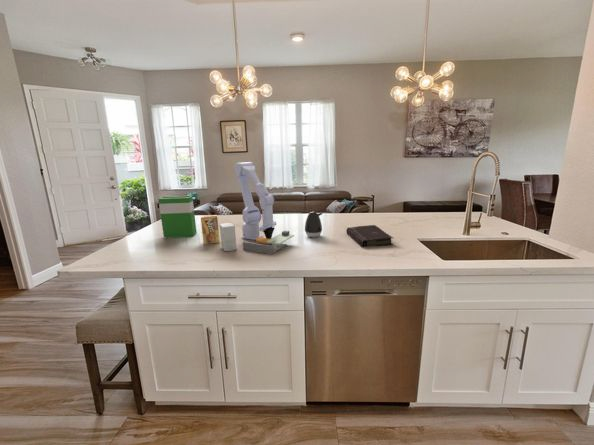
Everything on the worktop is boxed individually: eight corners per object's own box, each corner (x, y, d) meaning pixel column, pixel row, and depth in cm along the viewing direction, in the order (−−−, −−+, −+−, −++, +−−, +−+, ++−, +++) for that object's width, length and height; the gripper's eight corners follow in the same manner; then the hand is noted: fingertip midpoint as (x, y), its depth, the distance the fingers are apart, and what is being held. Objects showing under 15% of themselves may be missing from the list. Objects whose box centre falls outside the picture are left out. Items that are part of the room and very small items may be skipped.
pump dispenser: (321, 239, 167) (321, 213, 163) (303, 238, 169) (303, 212, 165) (323, 234, 176) (323, 209, 173) (306, 233, 179) (306, 209, 175)
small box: (236, 249, 153) (234, 225, 150) (224, 251, 151) (222, 227, 147) (233, 245, 160) (231, 222, 157) (221, 247, 158) (219, 223, 154)
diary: (361, 249, 152) (361, 239, 151) (346, 235, 176) (346, 227, 175) (394, 245, 154) (395, 236, 153) (375, 232, 178) (375, 224, 177)
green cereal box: (163, 237, 177) (158, 198, 171) (168, 234, 184) (163, 196, 178) (193, 236, 178) (188, 197, 172) (196, 233, 185) (192, 195, 179)
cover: (281, 234, 163) (281, 229, 162) (293, 236, 159) (293, 231, 159) (266, 242, 150) (265, 237, 149) (279, 244, 146) (279, 239, 145)
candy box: (219, 240, 169) (216, 214, 165) (219, 242, 165) (217, 216, 162) (203, 242, 166) (200, 216, 163) (203, 244, 163) (200, 217, 159)
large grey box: (242, 249, 153) (242, 242, 152) (259, 241, 166) (258, 234, 165) (272, 254, 145) (271, 246, 144) (286, 245, 158) (286, 238, 157)
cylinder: (255, 241, 159) (257, 236, 160) (258, 243, 162) (260, 238, 163) (271, 244, 155) (272, 238, 156) (273, 246, 158) (275, 240, 159)
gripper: (266, 220, 151) (268, 245, 154) (280, 214, 163) (281, 237, 167) (255, 219, 154) (256, 243, 157) (269, 213, 166) (271, 236, 170)
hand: (268, 240), depth 162 cm, fingers closed
